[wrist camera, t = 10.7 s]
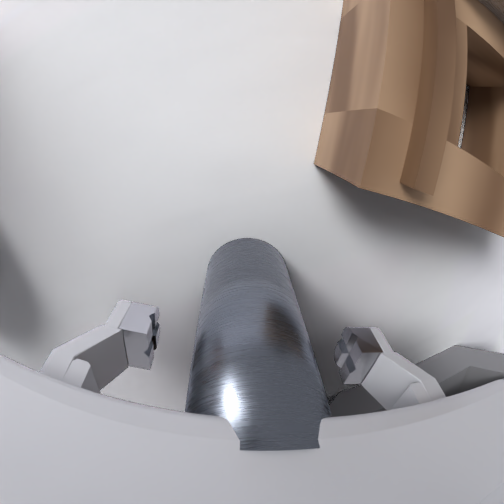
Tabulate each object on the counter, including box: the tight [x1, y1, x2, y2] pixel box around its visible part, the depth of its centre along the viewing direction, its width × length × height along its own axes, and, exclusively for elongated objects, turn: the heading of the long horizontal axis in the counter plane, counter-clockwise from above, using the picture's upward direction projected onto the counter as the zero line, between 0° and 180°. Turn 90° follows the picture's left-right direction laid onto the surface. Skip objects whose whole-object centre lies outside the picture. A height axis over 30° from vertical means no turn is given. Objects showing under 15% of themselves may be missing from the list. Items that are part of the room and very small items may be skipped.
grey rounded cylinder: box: [185, 238, 332, 451], centre depth 9 cm, size 4×4×10 cm
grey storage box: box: [330, 345, 504, 417], centre depth 16 cm, size 25×8×11 cm, turn 105°
